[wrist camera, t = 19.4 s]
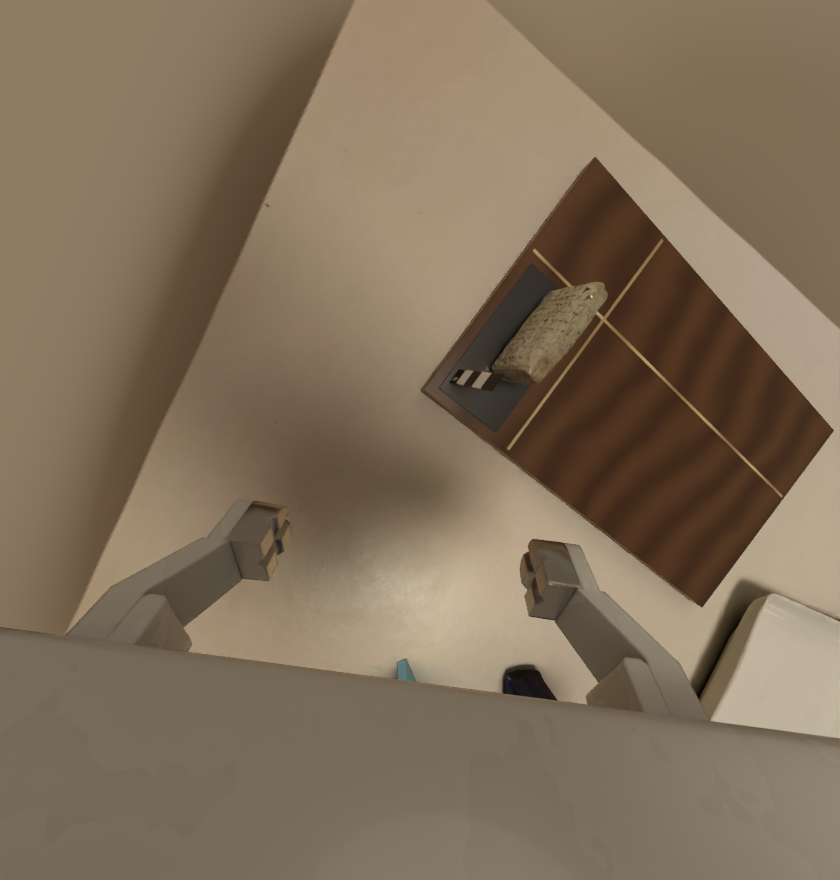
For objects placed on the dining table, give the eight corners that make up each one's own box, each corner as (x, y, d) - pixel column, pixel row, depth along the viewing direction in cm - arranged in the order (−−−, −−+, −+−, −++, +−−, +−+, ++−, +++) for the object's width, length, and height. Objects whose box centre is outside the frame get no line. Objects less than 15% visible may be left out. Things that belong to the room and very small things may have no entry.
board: (420, 390, 30) (423, 389, 29) (584, 167, 30) (597, 154, 29) (689, 599, 39) (704, 608, 38) (816, 429, 39) (836, 430, 38)
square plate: (642, 763, 42) (670, 800, 38) (736, 574, 40) (775, 592, 36) (782, 793, 47) (819, 828, 43) (869, 628, 46) (915, 649, 42)
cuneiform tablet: (449, 381, 29) (529, 273, 29) (482, 410, 31) (557, 309, 31) (490, 390, 22) (594, 251, 22) (528, 426, 24) (625, 297, 24)
